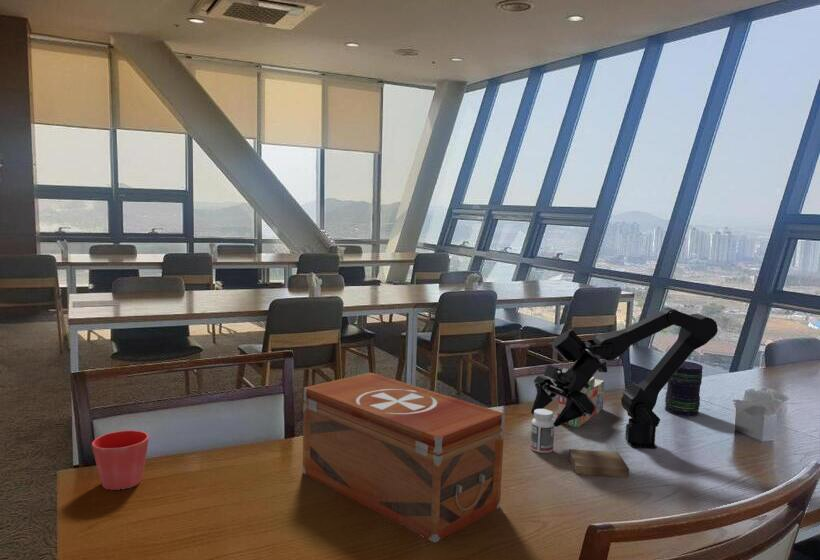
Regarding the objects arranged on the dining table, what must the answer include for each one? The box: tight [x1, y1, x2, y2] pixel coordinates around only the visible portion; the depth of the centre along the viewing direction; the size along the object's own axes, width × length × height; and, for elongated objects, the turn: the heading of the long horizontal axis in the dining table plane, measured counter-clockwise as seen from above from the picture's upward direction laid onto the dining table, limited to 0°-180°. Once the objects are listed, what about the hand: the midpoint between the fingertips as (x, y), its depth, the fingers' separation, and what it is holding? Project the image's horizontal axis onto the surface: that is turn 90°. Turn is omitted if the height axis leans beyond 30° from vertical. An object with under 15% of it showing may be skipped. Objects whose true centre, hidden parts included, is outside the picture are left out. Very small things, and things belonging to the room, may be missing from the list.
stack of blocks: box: [556, 376, 605, 428], centre depth 184 cm, size 21×6×12 cm, turn 144°
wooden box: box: [302, 372, 506, 543], centre depth 132 cm, size 20×41×20 cm, turn 46°
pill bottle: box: [530, 408, 555, 454], centre depth 157 cm, size 6×6×10 cm
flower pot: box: [91, 430, 150, 491], centre depth 131 cm, size 11×11×10 cm
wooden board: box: [567, 448, 630, 478], centre depth 148 cm, size 12×10×2 cm
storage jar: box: [664, 360, 703, 418], centre depth 191 cm, size 10×10×15 cm
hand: (543, 419), depth 157 cm, fingers open, 9 cm apart
